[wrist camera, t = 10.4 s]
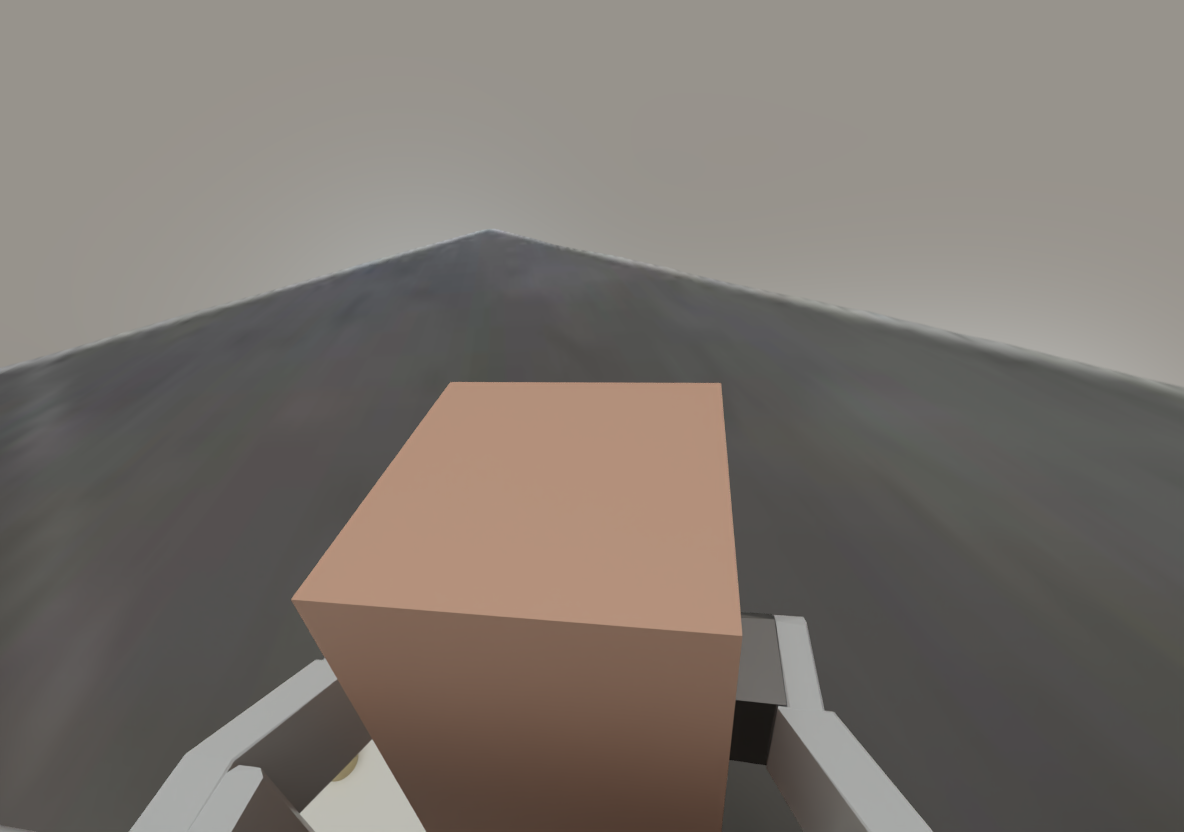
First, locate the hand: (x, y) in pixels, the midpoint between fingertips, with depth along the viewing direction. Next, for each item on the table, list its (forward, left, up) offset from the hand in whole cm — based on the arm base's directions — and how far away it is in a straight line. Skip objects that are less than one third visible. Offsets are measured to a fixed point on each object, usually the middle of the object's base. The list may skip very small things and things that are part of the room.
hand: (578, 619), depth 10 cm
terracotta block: (0, 0, -7) cm, 7 cm away
